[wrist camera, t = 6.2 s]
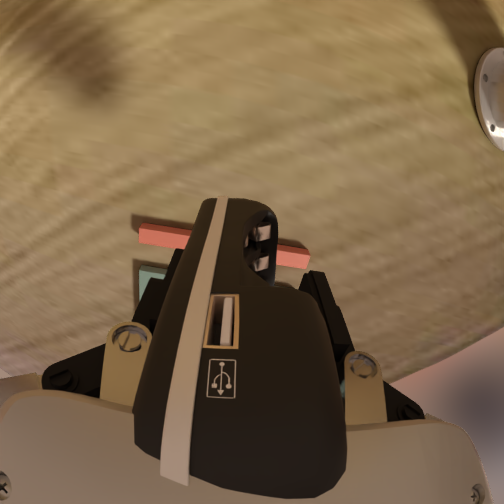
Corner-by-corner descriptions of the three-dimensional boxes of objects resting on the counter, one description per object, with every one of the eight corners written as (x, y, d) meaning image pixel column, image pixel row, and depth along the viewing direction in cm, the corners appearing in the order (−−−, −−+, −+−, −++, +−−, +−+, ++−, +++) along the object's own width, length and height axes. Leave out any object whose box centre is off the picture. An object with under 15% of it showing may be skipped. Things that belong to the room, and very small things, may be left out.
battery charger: (282, 319, 16) (304, 543, 6) (210, 317, 16) (185, 542, 6) (295, 191, 12) (400, 511, 2) (202, 189, 12) (95, 510, 2)
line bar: (307, 249, 29) (310, 255, 28) (303, 262, 30) (305, 268, 29) (142, 222, 27) (139, 228, 26) (142, 236, 28) (138, 242, 27)
